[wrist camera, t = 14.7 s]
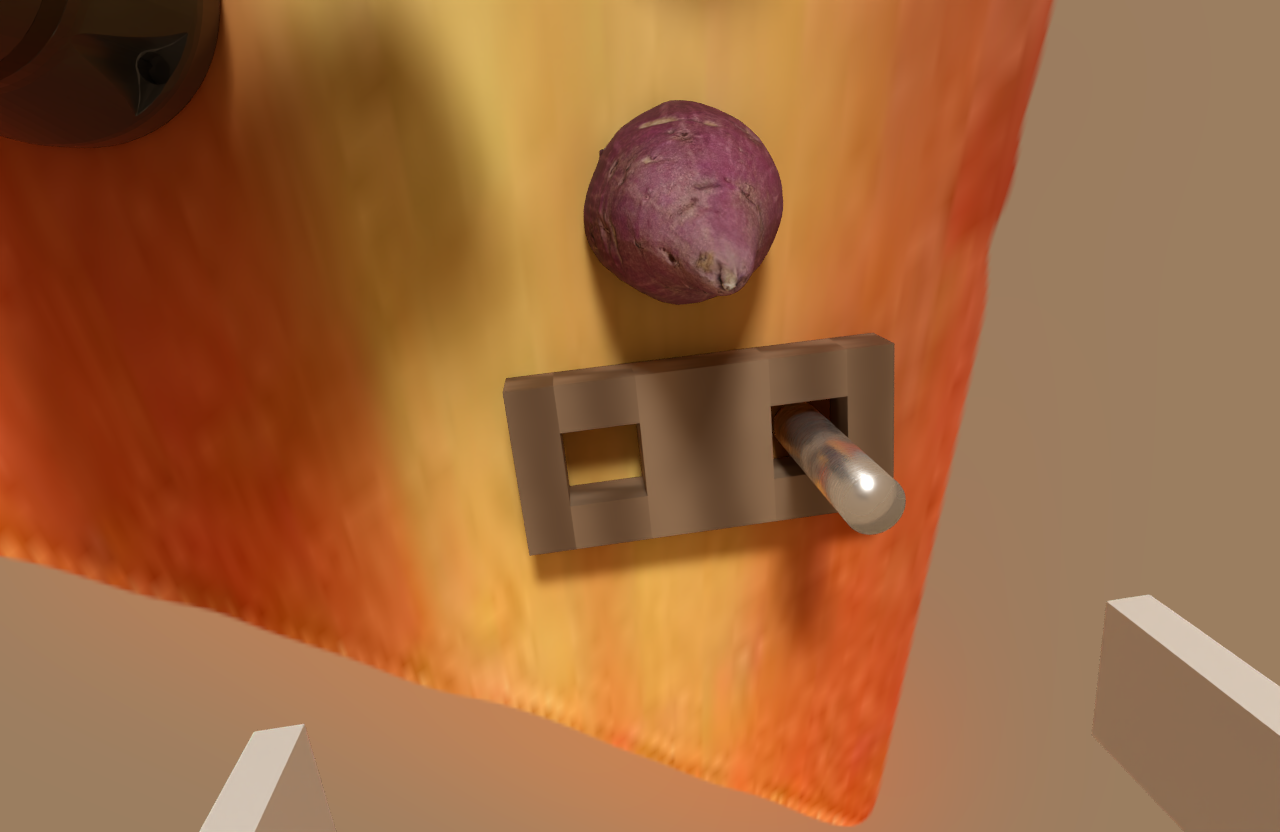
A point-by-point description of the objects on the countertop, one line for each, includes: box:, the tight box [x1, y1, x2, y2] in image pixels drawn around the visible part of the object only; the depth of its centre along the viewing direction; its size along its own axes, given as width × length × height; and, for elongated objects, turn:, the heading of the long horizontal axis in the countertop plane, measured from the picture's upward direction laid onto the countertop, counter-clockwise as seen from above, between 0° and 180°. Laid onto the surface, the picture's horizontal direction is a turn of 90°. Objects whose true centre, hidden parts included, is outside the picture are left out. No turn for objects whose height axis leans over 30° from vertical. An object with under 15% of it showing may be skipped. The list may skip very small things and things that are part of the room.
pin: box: [773, 402, 906, 535], centre depth 41 cm, size 3×3×12 cm
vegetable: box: [584, 100, 783, 305], centre depth 36 cm, size 10×10×15 cm
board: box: [503, 333, 894, 556], centre depth 44 cm, size 22×10×3 cm, turn 96°
